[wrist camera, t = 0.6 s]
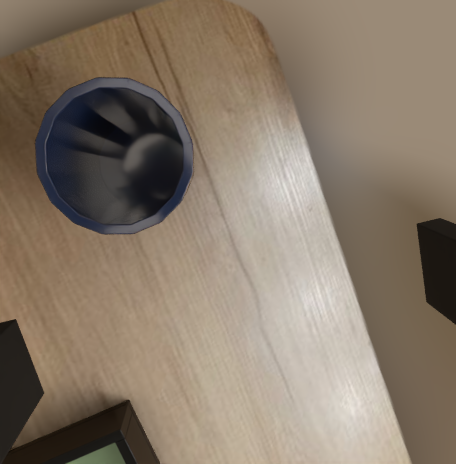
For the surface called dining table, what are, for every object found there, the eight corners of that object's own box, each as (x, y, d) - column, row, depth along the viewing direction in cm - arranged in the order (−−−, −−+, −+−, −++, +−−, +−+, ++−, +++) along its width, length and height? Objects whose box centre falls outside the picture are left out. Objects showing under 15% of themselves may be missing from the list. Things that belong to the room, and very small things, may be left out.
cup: (77, 137, 32) (7, 113, 20) (170, 98, 32) (155, 52, 20) (119, 228, 33) (77, 257, 21) (208, 190, 33) (216, 199, 21)
